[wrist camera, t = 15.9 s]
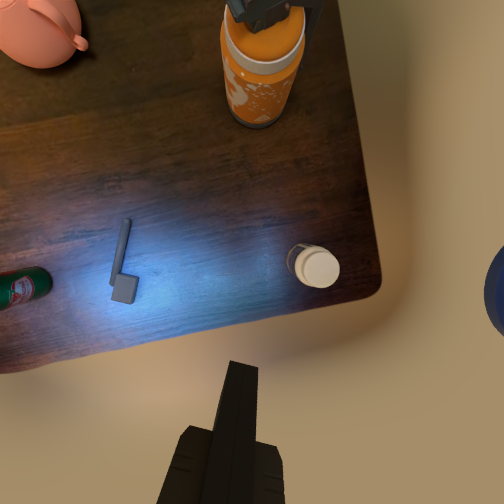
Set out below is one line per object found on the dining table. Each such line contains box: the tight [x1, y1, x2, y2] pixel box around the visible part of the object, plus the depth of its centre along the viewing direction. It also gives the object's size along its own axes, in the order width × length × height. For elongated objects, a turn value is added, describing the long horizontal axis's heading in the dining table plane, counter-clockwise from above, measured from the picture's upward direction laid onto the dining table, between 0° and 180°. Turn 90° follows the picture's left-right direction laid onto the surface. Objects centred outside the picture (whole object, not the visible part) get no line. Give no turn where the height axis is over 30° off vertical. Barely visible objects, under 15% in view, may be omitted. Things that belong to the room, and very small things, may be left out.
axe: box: [109, 218, 139, 304], centre depth 40 cm, size 13×4×1 cm, turn 166°
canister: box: [220, 0, 326, 128], centre depth 29 cm, size 9×11×20 cm
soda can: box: [0, 267, 51, 311], centre depth 34 cm, size 5×5×12 cm
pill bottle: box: [286, 243, 339, 288], centre depth 37 cm, size 6×6×10 cm
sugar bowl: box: [0, 0, 88, 68], centre depth 32 cm, size 12×14×10 cm
